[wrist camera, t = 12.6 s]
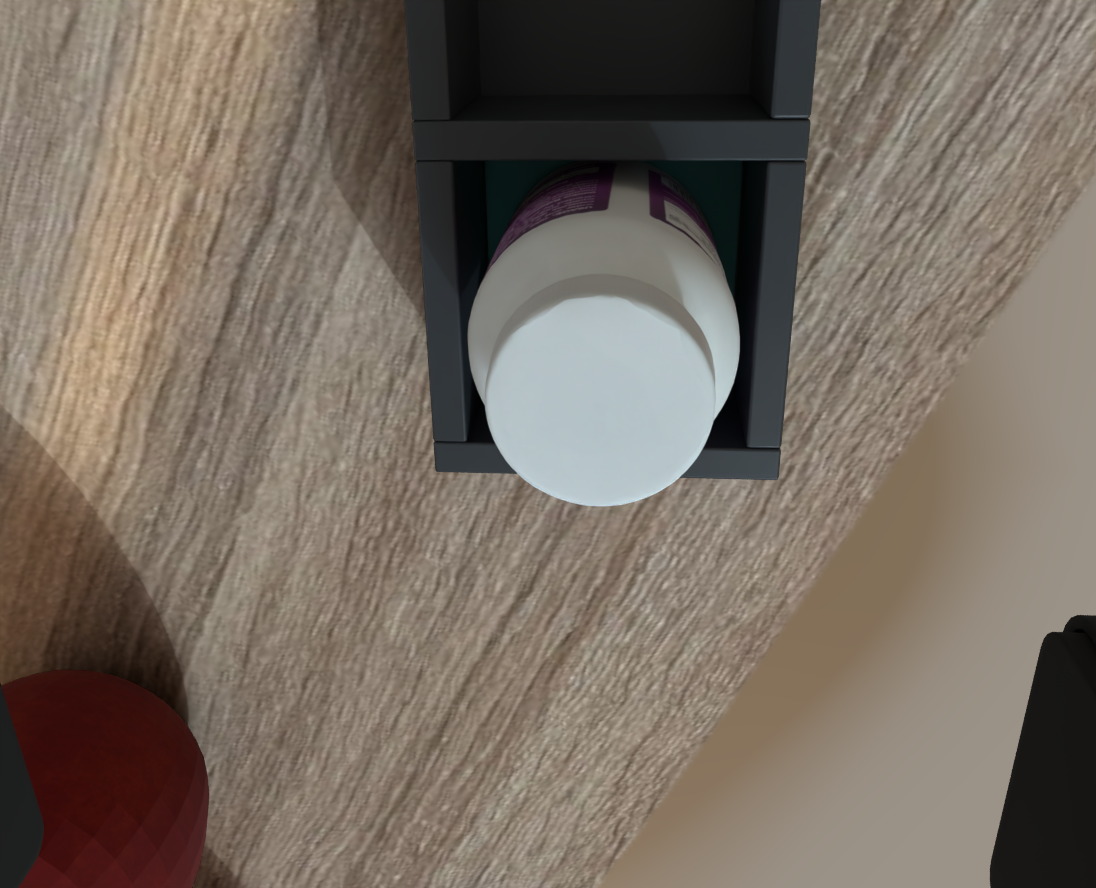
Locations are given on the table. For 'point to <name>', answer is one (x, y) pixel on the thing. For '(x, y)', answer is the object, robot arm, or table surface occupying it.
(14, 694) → the apple
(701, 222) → the pill bottle
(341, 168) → the table surface
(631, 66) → the holder
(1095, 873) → the robot arm
